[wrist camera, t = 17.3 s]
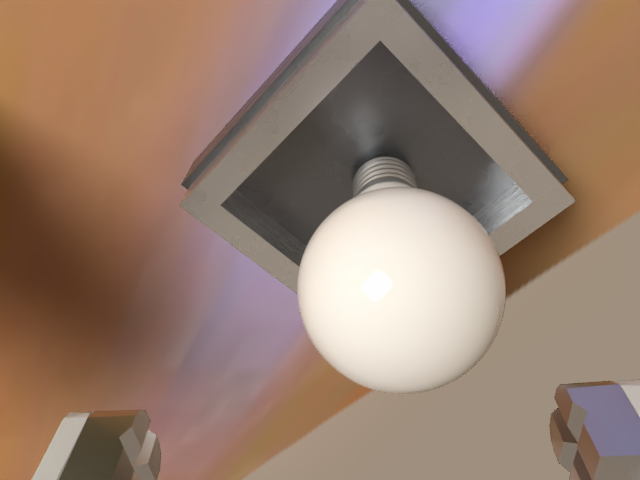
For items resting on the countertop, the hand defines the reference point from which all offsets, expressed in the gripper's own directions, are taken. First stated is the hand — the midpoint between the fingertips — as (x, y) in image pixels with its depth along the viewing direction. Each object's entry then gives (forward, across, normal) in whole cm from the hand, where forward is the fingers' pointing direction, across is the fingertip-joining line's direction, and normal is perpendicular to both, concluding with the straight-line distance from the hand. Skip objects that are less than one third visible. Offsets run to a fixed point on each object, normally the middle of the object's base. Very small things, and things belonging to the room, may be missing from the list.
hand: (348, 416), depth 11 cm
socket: (+16, -1, +2) cm, 17 cm away
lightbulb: (+14, -2, +2) cm, 14 cm away
